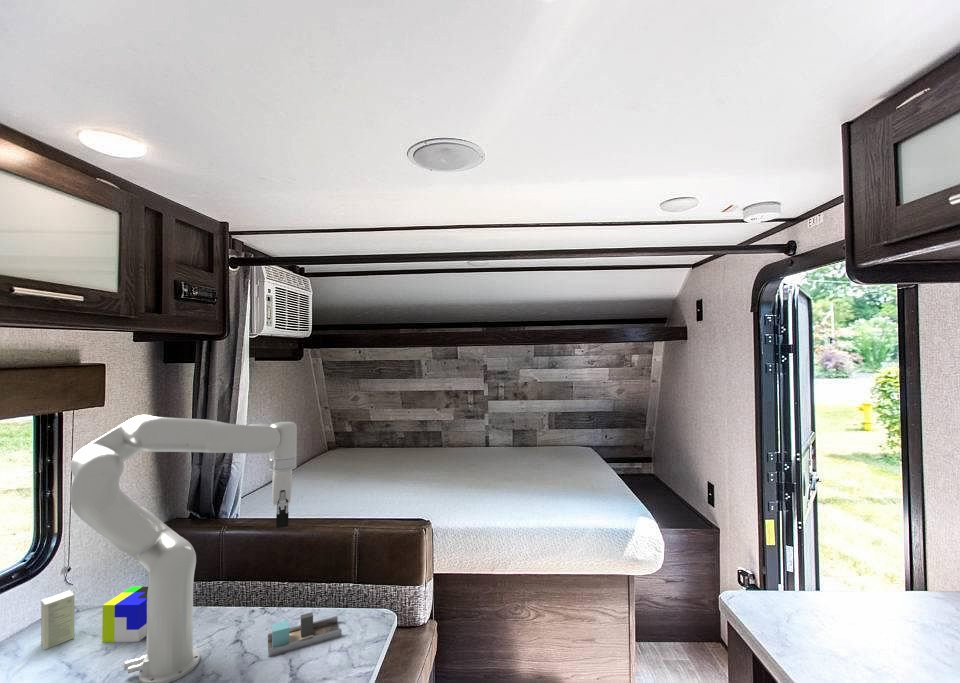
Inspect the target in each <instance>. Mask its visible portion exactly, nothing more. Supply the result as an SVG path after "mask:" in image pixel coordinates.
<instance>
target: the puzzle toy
mask: <svg viewBox="0 0 960 683" xmlns="http://www.w3.org/2000/svg"><path fill="white" fill-rule="evenodd" d="M148 587H149V586H130V587H129V588H128V589H126V590H124V591H123V592H121V593H119V594H118V595H117V596H115V597H113V598H112V599H110V600H108V601H107V602H106V603H104V604H102V630H101V631H102V633H101V634H102V638H101V640H102V643H139V642H141V640H143V638H145V637H147V593H148Z"/></svg>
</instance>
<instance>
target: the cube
mask: <svg viewBox="0 0 960 683" xmlns="http://www.w3.org/2000/svg"><path fill="white" fill-rule="evenodd" d="M271 625H272V626H271V631H272V632H271V633H272V644H273V647H276V646H279V645H283V644H287V643H289V628H290V620H289V619H287V620H282V621H279V622H274V623H272V624H271Z"/></svg>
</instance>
